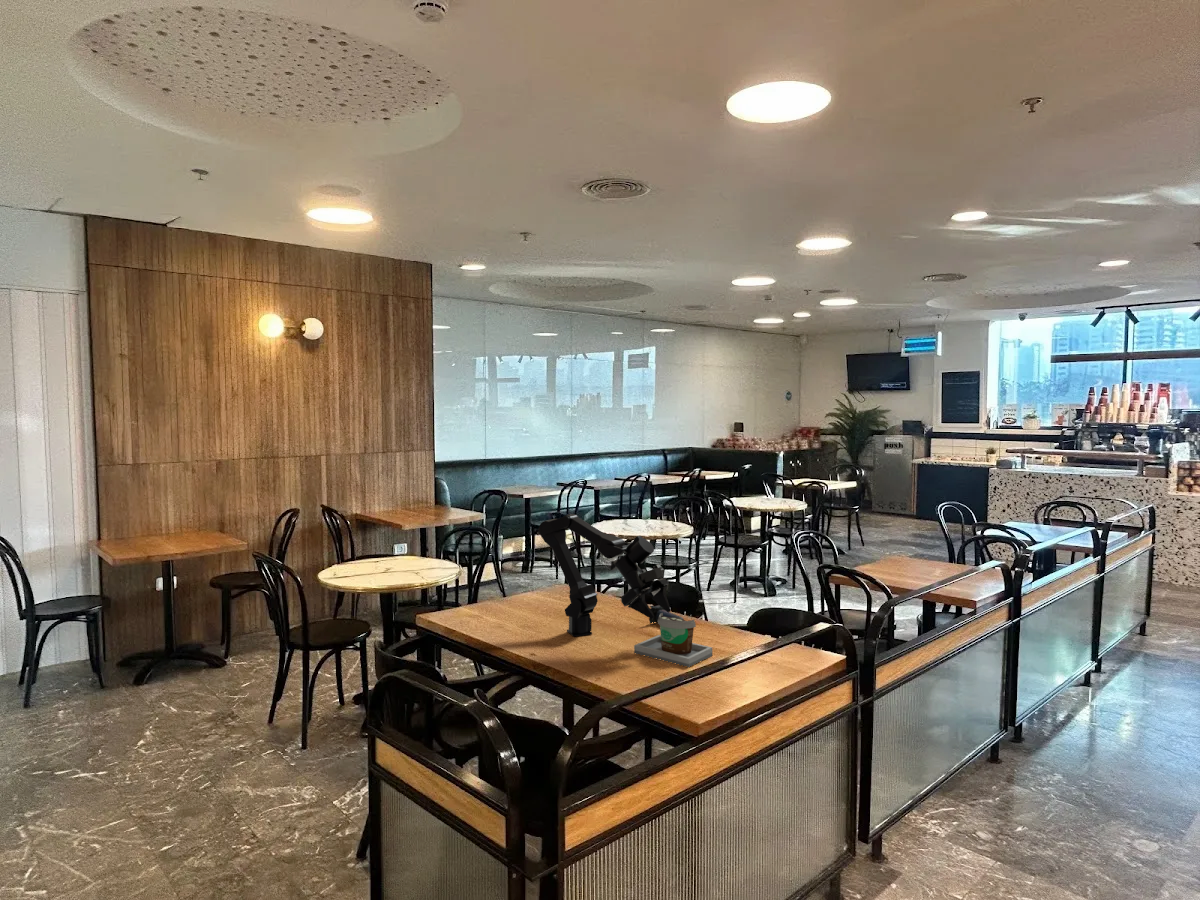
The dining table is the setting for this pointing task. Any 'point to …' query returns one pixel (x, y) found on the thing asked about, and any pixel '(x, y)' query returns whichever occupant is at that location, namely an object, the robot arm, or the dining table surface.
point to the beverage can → (658, 610)
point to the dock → (654, 650)
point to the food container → (676, 634)
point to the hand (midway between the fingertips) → (661, 614)
